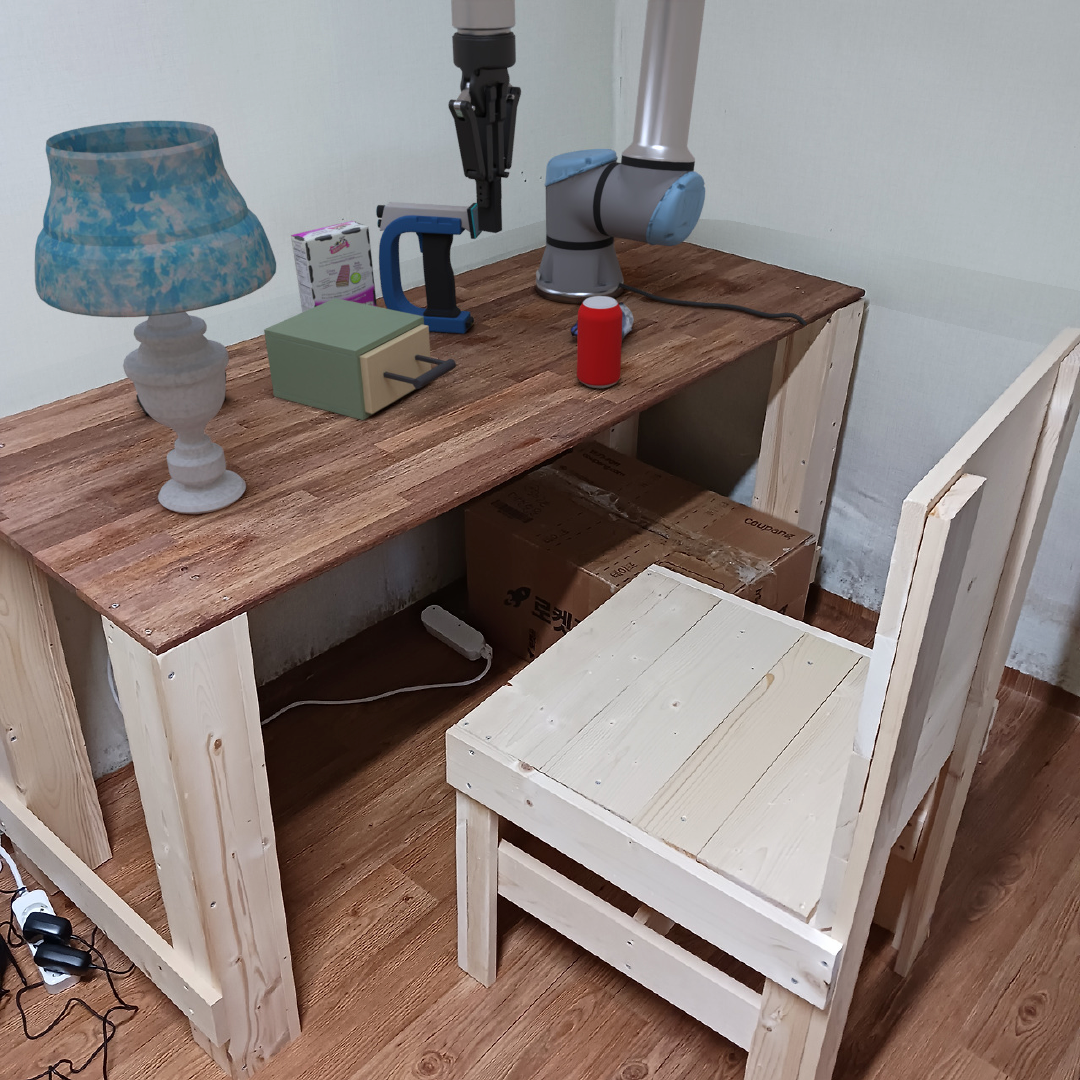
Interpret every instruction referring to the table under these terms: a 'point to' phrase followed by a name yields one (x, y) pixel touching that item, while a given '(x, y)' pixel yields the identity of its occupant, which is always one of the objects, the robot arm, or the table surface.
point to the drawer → (399, 368)
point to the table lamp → (156, 273)
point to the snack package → (626, 322)
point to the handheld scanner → (426, 259)
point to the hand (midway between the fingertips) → (490, 230)
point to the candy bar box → (334, 265)
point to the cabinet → (330, 353)
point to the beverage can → (599, 342)
